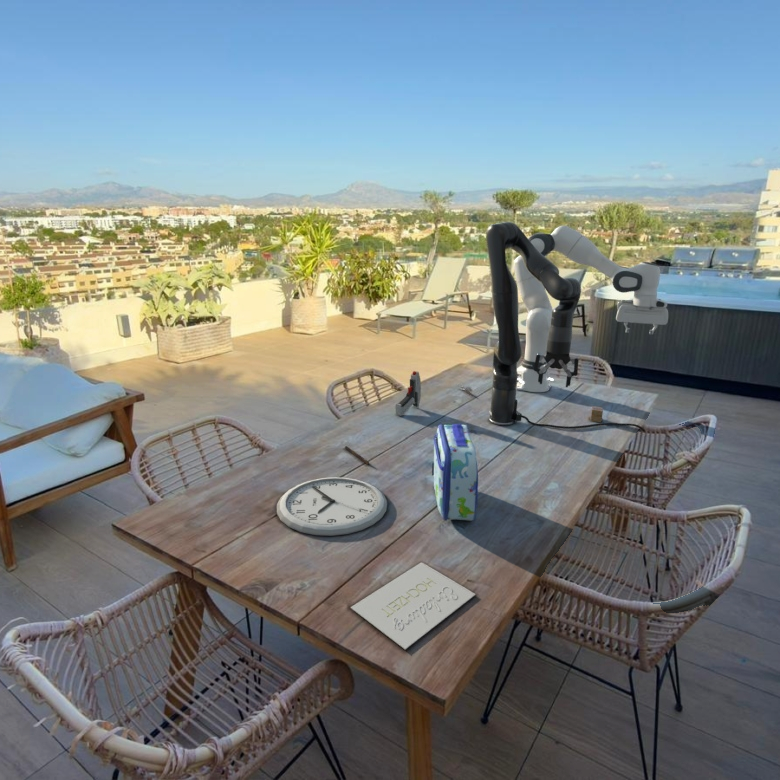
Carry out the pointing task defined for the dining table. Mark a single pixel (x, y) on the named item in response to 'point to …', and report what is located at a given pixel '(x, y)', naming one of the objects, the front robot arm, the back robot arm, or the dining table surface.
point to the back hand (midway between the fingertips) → (639, 333)
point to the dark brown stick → (357, 455)
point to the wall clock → (331, 506)
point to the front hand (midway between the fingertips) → (553, 385)
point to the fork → (464, 389)
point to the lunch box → (455, 472)
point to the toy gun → (410, 395)
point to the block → (596, 414)
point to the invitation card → (412, 604)
